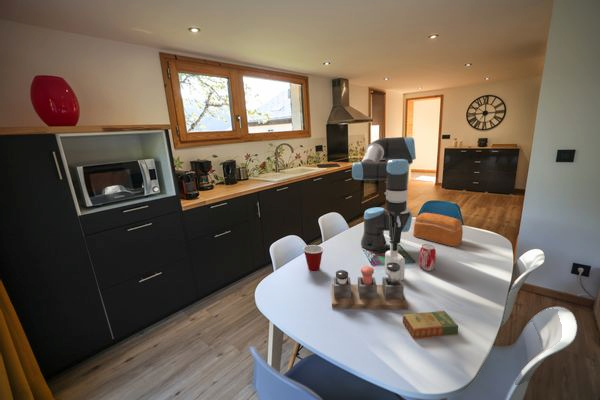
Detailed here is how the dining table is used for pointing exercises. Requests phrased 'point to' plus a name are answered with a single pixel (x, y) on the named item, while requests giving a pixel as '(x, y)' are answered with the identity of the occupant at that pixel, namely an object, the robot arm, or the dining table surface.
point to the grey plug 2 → (393, 273)
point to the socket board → (368, 295)
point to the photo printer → (399, 260)
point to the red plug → (367, 275)
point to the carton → (430, 324)
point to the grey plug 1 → (342, 277)
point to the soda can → (427, 257)
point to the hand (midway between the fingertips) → (393, 256)
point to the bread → (438, 229)
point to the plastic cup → (313, 256)
